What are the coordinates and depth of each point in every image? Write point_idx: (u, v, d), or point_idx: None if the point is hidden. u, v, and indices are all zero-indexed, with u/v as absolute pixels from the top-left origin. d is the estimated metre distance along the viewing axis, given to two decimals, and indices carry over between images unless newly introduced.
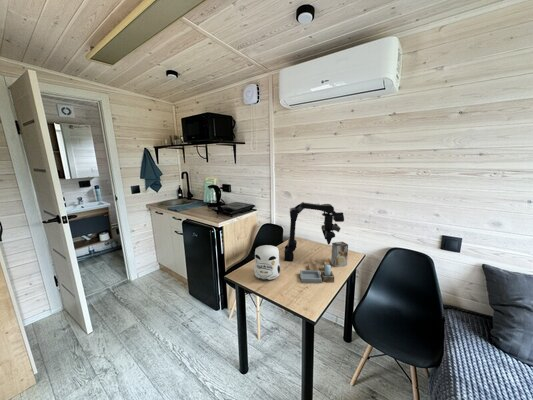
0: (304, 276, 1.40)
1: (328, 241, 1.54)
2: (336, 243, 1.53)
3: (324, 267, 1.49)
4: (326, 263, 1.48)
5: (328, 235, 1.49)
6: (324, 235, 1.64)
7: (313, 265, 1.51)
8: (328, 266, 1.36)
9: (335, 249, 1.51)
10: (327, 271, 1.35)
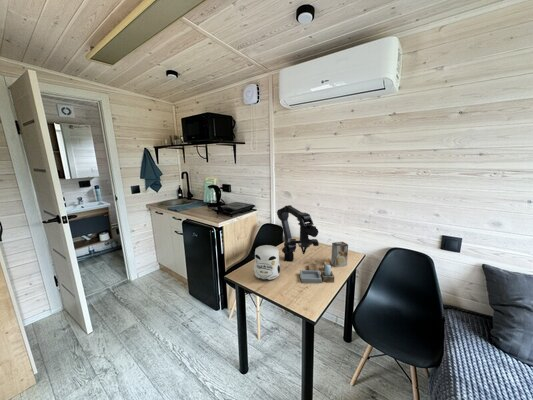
0: (304, 276, 1.40)
1: None
2: (336, 243, 1.53)
3: (324, 267, 1.49)
4: (326, 263, 1.48)
5: (289, 241, 1.48)
6: None
7: (313, 265, 1.51)
8: (328, 266, 1.36)
9: (335, 249, 1.51)
10: (327, 271, 1.35)
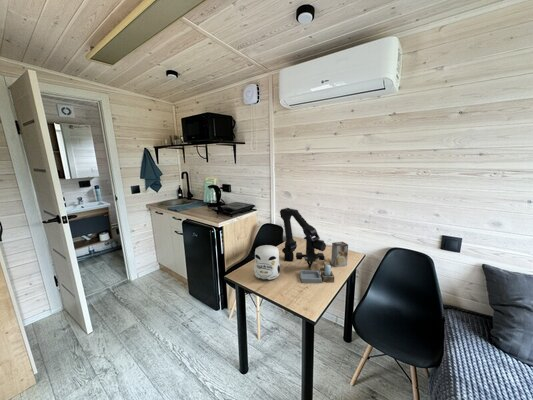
0: (304, 276, 1.40)
1: None
2: (336, 243, 1.53)
3: (324, 267, 1.49)
4: (326, 263, 1.48)
5: (296, 254, 1.50)
6: None
7: (315, 265, 1.51)
8: (328, 266, 1.36)
9: (335, 249, 1.51)
10: (327, 271, 1.35)
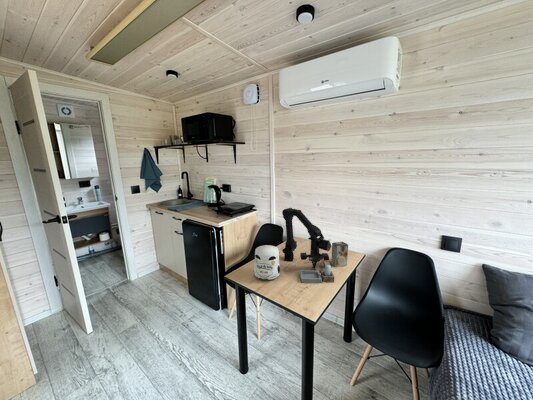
0: (304, 276, 1.40)
1: (312, 264, 1.49)
2: (336, 243, 1.53)
3: (324, 267, 1.49)
4: (326, 263, 1.48)
5: (300, 255, 1.50)
6: None
7: (320, 265, 1.50)
8: (328, 266, 1.36)
9: (335, 249, 1.51)
10: (327, 271, 1.35)
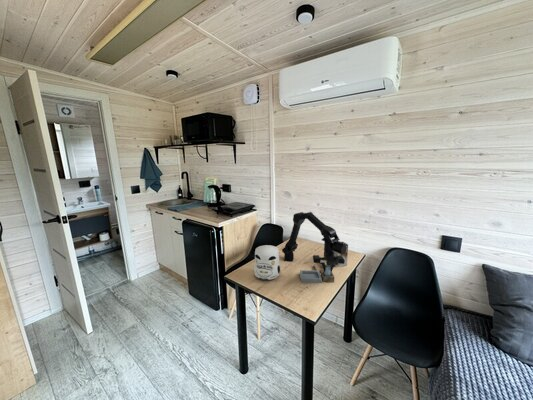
0: (304, 276, 1.40)
1: None
2: None
3: None
4: (326, 263, 1.48)
5: None
6: None
7: (319, 265, 1.50)
8: (328, 266, 1.36)
9: None
10: (327, 271, 1.35)
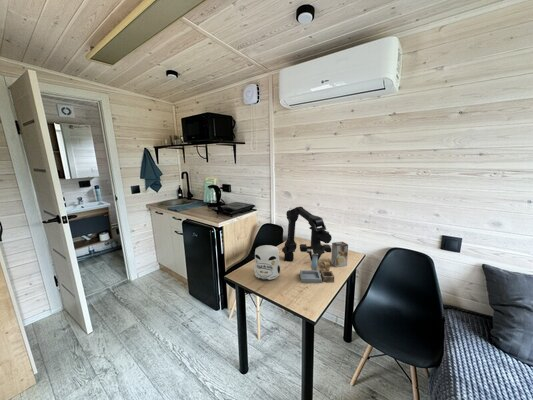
0: (304, 276, 1.40)
1: None
2: (336, 243, 1.53)
3: (324, 267, 1.49)
4: (326, 263, 1.48)
5: None
6: None
7: (319, 265, 1.50)
8: (315, 255, 1.35)
9: (335, 249, 1.51)
10: (314, 260, 1.35)
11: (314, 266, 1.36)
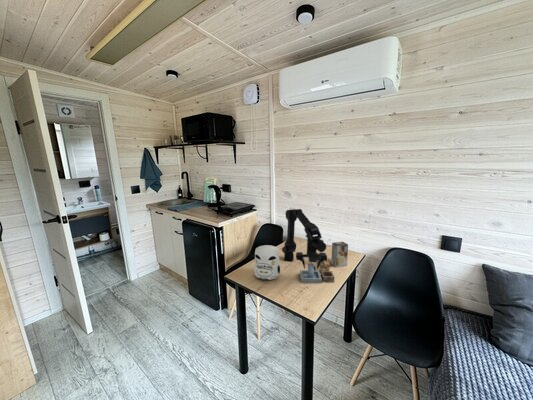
0: (304, 276, 1.40)
1: (303, 264, 1.38)
2: (336, 243, 1.53)
3: (324, 267, 1.49)
4: (326, 263, 1.48)
5: (296, 254, 1.38)
6: (317, 263, 1.38)
7: (320, 265, 1.50)
8: (311, 264, 1.37)
9: (335, 249, 1.51)
10: (310, 269, 1.36)
11: (310, 275, 1.37)
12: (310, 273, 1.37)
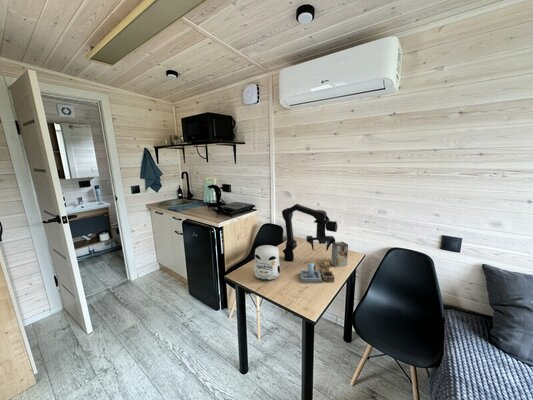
0: (304, 276, 1.40)
1: None
2: (336, 243, 1.53)
3: (324, 267, 1.49)
4: (326, 263, 1.48)
5: (306, 238, 1.50)
6: (326, 245, 1.50)
7: (320, 265, 1.50)
8: (311, 264, 1.37)
9: (335, 249, 1.51)
10: (310, 269, 1.36)
11: (310, 275, 1.37)
12: (310, 273, 1.37)
